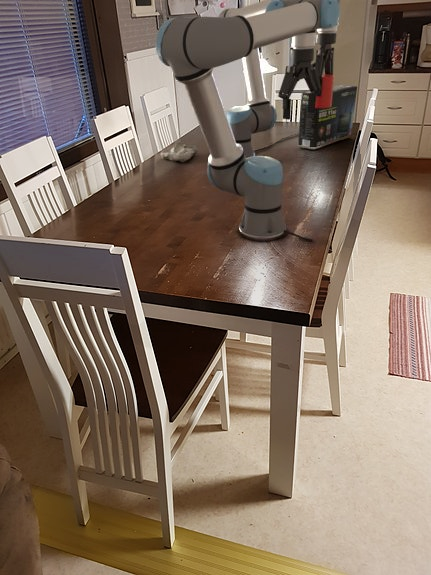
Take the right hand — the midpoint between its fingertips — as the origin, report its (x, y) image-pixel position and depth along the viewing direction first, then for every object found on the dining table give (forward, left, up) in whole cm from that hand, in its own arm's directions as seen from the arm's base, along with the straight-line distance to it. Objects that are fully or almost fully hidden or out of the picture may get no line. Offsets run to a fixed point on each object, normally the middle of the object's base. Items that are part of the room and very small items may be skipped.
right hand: (299, 115), depth 161 cm
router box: (+16, -83, -30) cm, 90 cm away
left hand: (+5, -38, +1) cm, 39 cm away
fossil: (+73, -28, -30) cm, 84 cm away
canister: (+5, -38, -3) cm, 39 cm away
